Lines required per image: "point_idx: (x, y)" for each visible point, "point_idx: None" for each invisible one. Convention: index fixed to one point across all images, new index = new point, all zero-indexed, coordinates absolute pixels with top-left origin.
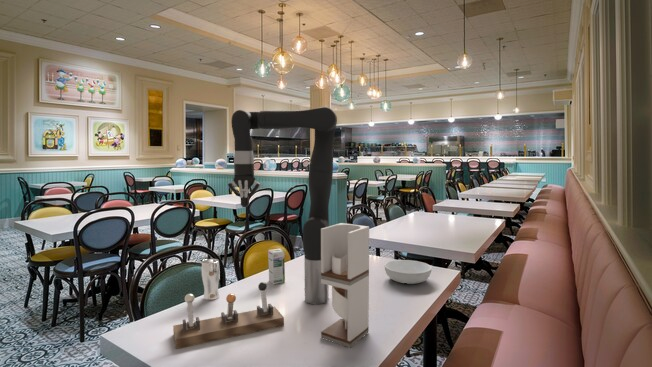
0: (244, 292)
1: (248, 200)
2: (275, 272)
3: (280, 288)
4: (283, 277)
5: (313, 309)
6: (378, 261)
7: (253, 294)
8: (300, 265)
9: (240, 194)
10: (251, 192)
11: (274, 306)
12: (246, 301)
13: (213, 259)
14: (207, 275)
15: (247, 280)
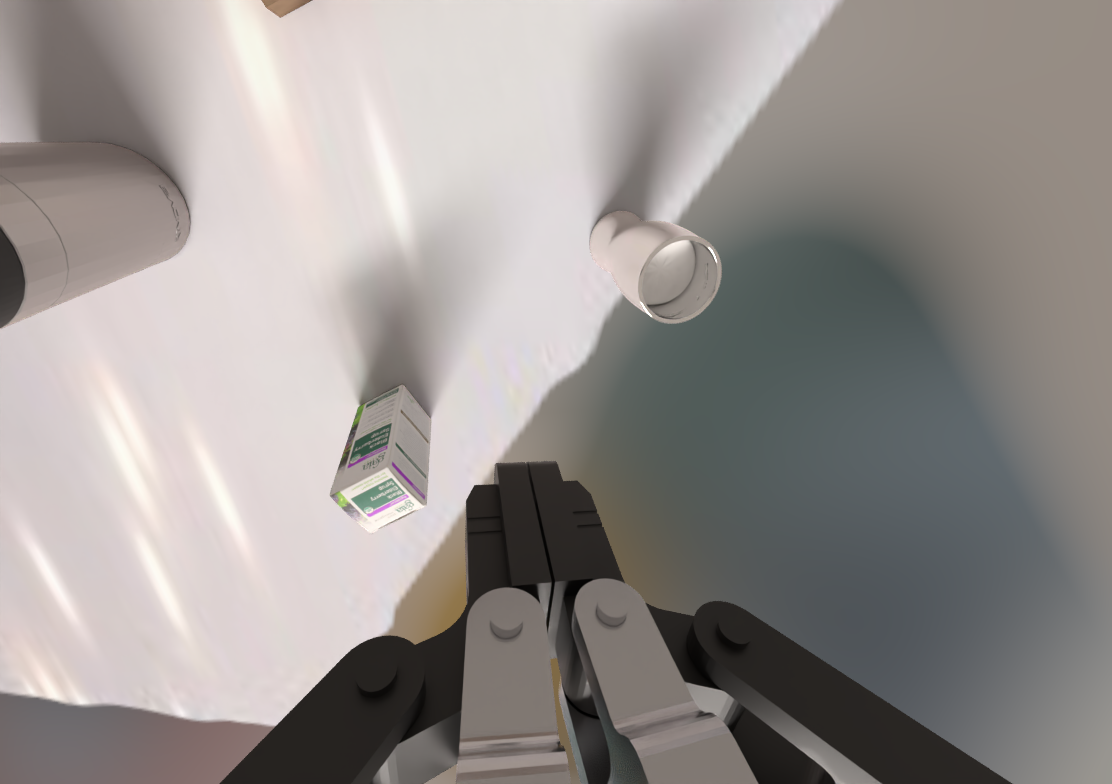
0: (499, 296)
1: (466, 584)
2: (386, 412)
3: (357, 343)
4: (359, 414)
5: (88, 76)
6: (8, 653)
7: (456, 275)
8: (350, 572)
9: (654, 644)
10: (328, 756)
11: (265, 5)
12: (465, 196)
13: (668, 319)
14: (664, 222)
15: (517, 416)
